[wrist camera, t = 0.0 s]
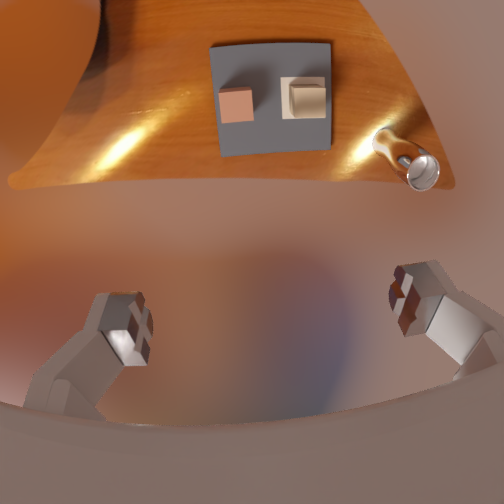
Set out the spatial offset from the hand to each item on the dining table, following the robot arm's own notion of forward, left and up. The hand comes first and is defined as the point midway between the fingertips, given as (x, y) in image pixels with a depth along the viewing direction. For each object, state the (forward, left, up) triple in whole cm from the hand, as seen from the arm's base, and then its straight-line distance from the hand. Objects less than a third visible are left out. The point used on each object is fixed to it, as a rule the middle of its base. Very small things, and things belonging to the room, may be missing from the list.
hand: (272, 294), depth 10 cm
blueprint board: (+2, +6, -48) cm, 48 cm away
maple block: (+2, +11, -47) cm, 48 cm away
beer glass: (+11, +28, -48) cm, 57 cm away
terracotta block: (+2, -1, -47) cm, 47 cm away
